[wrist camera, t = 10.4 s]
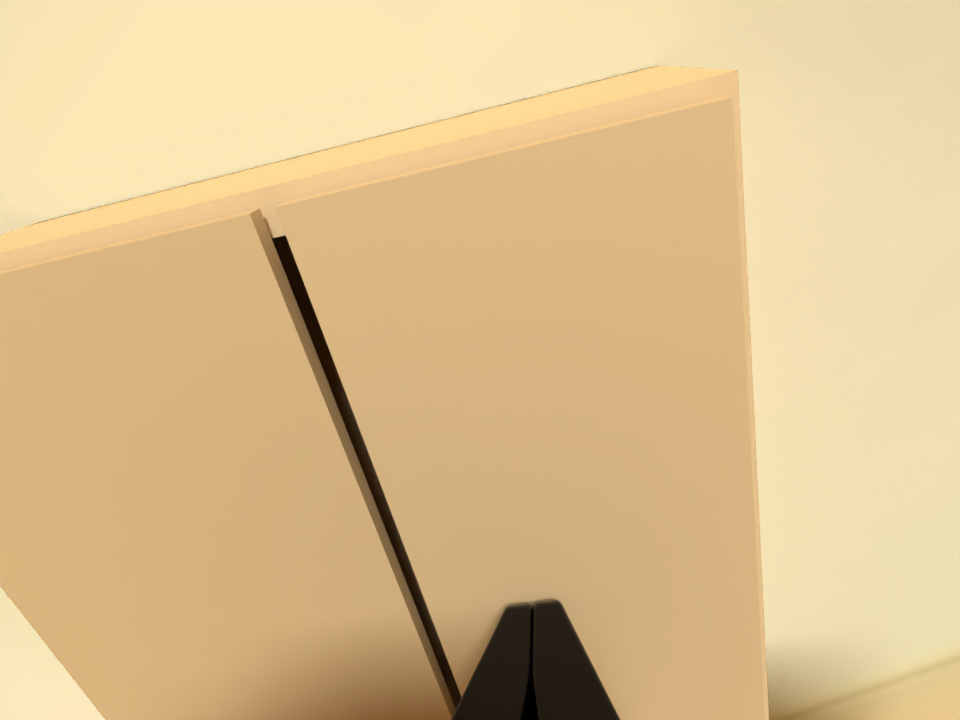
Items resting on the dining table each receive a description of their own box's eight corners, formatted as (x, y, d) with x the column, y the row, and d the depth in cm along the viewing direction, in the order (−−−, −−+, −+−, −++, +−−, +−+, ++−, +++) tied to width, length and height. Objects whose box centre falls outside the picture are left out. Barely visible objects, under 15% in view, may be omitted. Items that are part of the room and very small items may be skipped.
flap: (722, 96, 6) (731, 97, 6) (765, 819, 12) (771, 836, 12) (283, 201, 7) (274, 207, 7) (519, 832, 13) (519, 849, 13)
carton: (656, 65, 10) (752, 71, 6) (713, 638, 16) (782, 842, 12) (39, 222, 12) (-218, 309, 8) (294, 683, 18) (226, 873, 14)
